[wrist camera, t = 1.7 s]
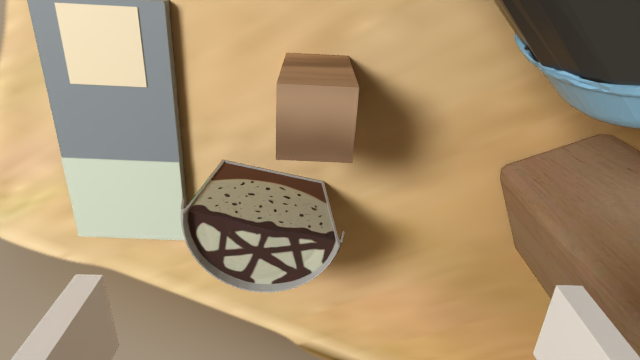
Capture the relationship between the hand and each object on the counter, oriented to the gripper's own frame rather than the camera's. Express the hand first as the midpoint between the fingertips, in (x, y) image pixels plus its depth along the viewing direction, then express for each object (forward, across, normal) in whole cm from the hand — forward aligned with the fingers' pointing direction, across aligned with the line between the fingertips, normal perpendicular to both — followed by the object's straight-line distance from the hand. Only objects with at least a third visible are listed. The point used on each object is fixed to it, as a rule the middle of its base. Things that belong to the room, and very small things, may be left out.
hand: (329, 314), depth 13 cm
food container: (+27, -5, -11) cm, 29 cm away
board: (+26, -17, -4) cm, 32 cm away
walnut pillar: (+27, 0, 0) cm, 27 cm away
